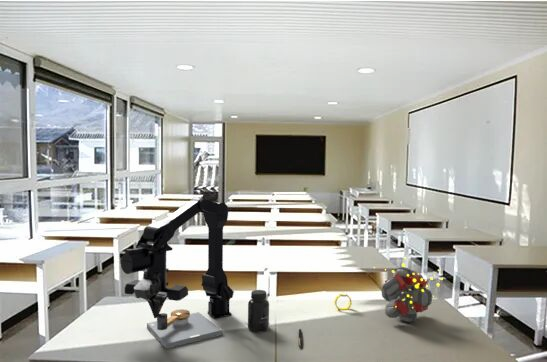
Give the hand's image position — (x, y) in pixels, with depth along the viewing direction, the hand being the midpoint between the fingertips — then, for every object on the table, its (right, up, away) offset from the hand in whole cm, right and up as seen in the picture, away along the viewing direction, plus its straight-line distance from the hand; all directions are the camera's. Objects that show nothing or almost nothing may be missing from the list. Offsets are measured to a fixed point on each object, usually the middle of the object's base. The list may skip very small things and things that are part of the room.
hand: (156, 317), depth 128 cm
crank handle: (+4, -3, +5) cm, 7 cm away
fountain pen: (+44, -7, +1) cm, 44 cm away
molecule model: (+80, -6, +16) cm, 82 cm away
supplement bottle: (+31, -7, +9) cm, 33 cm away
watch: (+61, -6, +27) cm, 67 cm away
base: (+7, -6, +6) cm, 11 cm away
